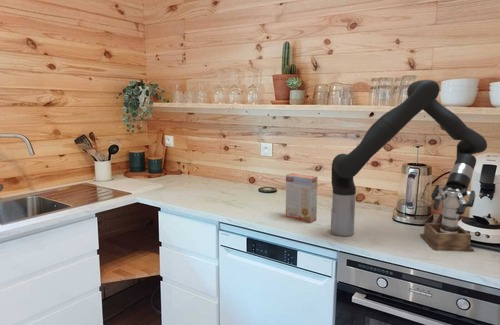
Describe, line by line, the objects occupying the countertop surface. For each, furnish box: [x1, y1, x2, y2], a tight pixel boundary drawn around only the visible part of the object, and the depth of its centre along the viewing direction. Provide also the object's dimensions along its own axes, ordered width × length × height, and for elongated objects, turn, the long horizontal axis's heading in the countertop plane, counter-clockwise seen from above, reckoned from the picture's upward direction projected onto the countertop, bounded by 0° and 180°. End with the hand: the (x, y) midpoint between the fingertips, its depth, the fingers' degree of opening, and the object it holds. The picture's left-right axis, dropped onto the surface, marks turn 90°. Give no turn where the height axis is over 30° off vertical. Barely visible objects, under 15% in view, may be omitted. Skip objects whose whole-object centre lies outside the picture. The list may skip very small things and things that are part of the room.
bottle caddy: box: [419, 222, 475, 253], centre depth 138 cm, size 14×14×6 cm
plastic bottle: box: [439, 190, 462, 234], centre depth 136 cm, size 6×7×20 cm
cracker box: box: [285, 173, 318, 223], centre depth 167 cm, size 14×6×21 cm, turn 48°
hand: (447, 211), depth 135 cm, fingers open, 8 cm apart
